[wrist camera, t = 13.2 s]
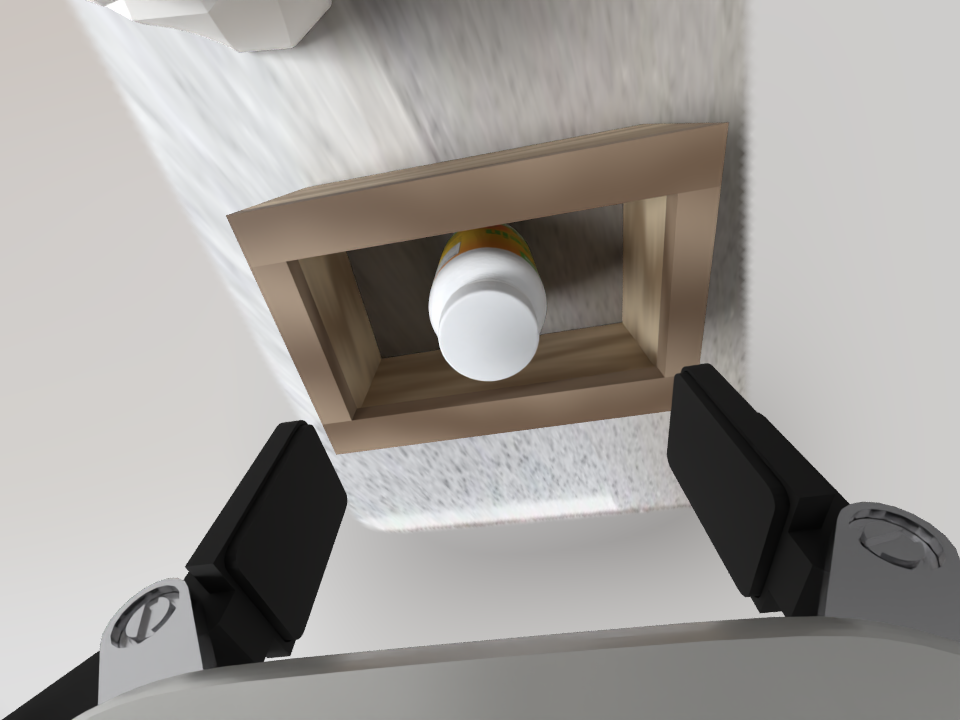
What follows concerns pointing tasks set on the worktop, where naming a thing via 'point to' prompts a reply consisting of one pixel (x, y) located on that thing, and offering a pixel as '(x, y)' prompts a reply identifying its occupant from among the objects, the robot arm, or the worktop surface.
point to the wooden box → (481, 203)
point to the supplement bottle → (487, 303)
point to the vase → (229, 19)
